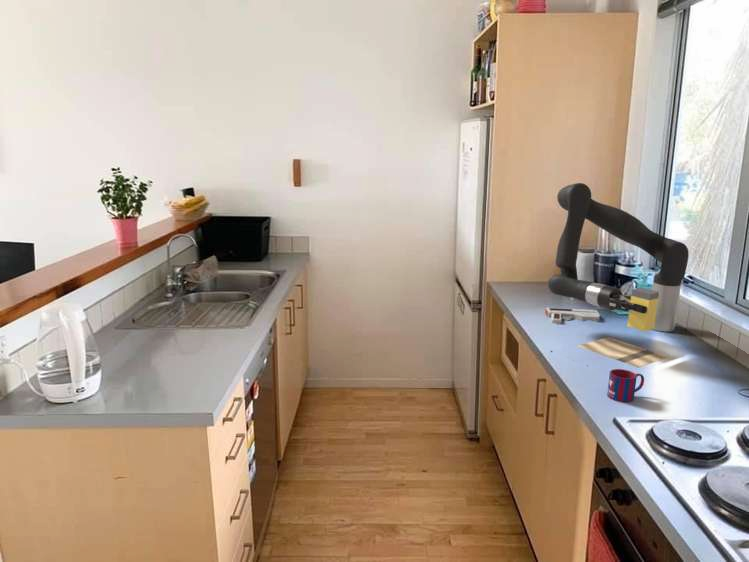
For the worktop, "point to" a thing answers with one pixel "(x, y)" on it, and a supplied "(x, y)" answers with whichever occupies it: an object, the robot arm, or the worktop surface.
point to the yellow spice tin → (650, 301)
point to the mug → (623, 385)
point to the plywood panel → (623, 351)
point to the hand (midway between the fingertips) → (651, 308)
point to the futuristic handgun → (571, 314)
